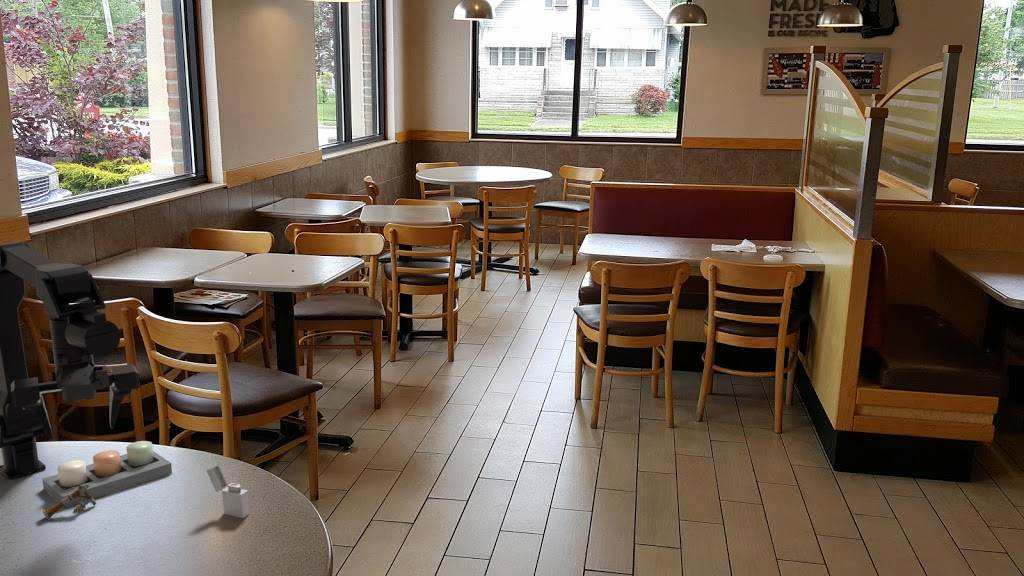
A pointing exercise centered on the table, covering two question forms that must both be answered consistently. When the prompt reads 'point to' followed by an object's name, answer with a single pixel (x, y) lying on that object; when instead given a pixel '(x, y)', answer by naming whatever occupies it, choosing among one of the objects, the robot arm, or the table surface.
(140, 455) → the sage button
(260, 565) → the table surface
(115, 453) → the terracotta button
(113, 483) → the button panel
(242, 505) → the lighter
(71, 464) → the cream button
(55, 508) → the wooden post with brackets
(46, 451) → the table surface
